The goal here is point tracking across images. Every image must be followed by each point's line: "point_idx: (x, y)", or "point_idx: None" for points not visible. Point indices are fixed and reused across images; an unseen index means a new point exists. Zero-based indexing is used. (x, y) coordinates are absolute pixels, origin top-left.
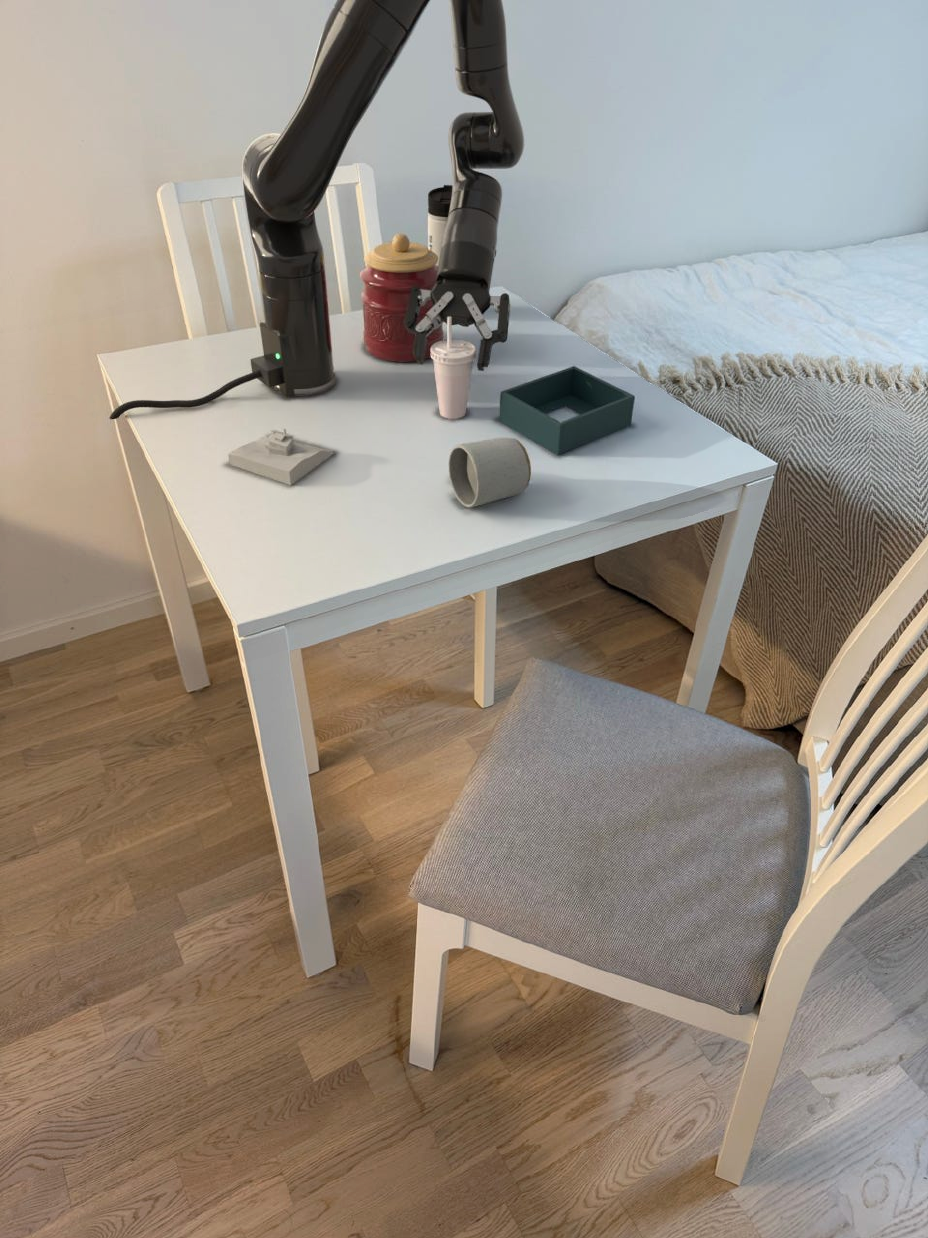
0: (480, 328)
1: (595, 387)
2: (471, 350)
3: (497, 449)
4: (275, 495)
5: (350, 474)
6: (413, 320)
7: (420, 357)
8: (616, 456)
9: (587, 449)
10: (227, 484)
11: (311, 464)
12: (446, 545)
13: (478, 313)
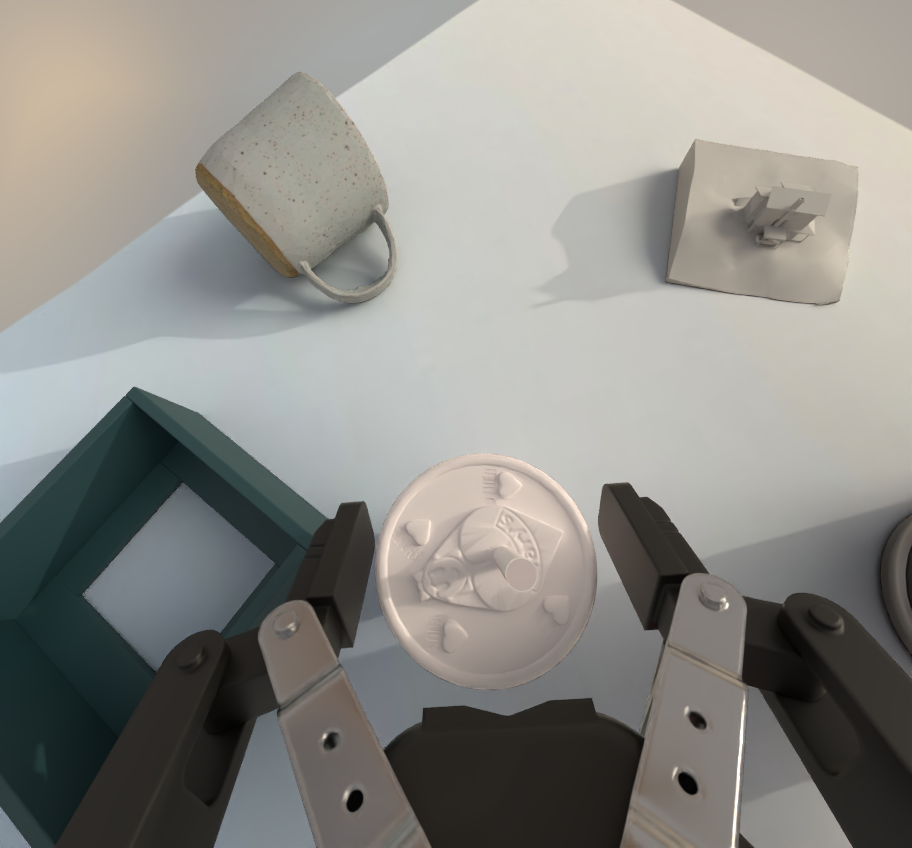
0: (326, 652)
1: (22, 737)
2: (396, 572)
3: (248, 116)
4: (685, 137)
5: (594, 227)
6: (801, 651)
7: (609, 485)
8: (69, 449)
9: None
10: (787, 139)
11: (679, 209)
12: (364, 110)
13: (315, 750)
